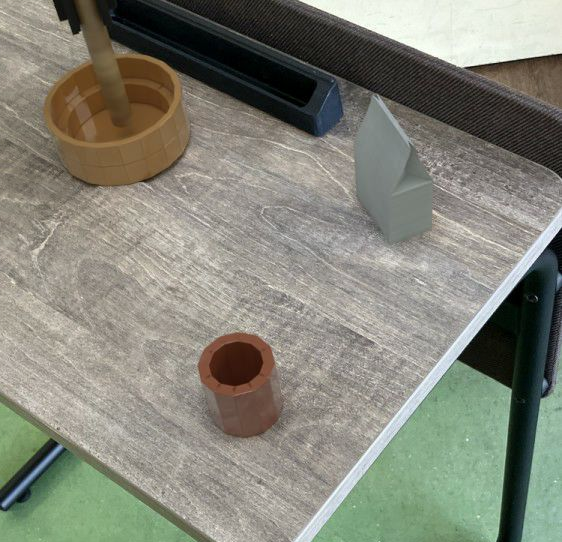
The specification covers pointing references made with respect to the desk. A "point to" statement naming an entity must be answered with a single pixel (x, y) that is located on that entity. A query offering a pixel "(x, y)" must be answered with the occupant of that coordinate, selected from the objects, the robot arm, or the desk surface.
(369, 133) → the grey pointed block
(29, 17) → the desk surface
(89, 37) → the stick
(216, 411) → the holder
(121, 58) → the bowl
